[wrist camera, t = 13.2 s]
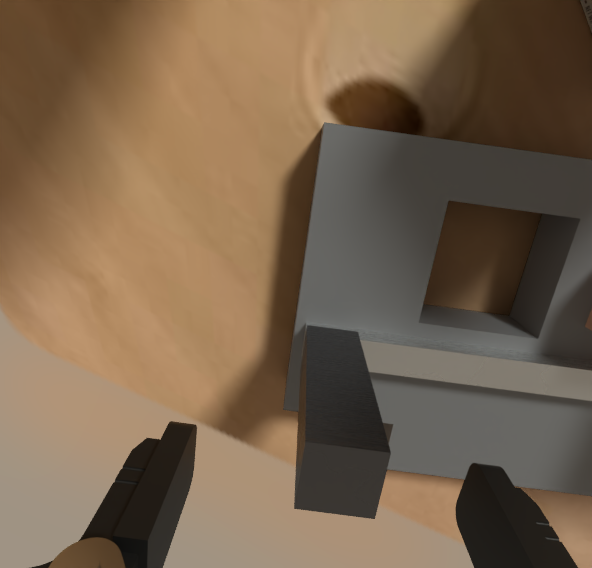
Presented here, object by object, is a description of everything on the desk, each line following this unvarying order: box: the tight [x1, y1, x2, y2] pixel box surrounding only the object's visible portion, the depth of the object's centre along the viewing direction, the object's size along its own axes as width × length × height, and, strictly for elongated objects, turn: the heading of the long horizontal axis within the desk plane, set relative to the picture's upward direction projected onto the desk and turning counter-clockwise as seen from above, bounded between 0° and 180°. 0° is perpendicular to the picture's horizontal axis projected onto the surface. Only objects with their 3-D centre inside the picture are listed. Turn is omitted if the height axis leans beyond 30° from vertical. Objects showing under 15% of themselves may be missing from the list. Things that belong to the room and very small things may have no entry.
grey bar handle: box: [294, 323, 592, 519], centre depth 15 cm, size 19×8×9 cm, turn 83°
